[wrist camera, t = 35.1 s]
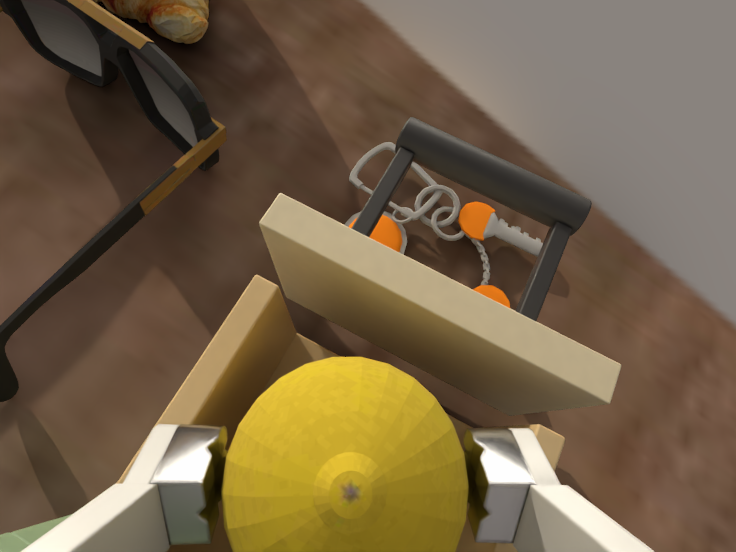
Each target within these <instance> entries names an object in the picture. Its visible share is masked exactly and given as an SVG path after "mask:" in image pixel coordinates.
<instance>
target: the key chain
mask: <svg viewBox="0 0 736 552" xmlns="http://www.w3.org/2000/svg"><path fill="white" fill-rule="evenodd" d="M395 147H396V145H395V144H393V143H392V142H385V143H382V144H380V145H378V146H377V147H375V148H373V149H372V150H370V151H369V152H368V153H366V154H365V155H364V156H363V157H362V158H361V159H360V160H359V162H358V163H357V164H356V166H355V167H354V169H353V170H352V172H351V174H350V176H349V181H350V182H351V183H352V184H353V185H355V186H356V187H357V188H358V189H362V190H364V191H365V192H367V193H369V194H370V195H372V193H373V191H372V190H370V189H369V188H367V187H365V186H363V183H362V182H361V181H360V180H359V179H358V178H357V177H358V173H359V172H360V170H361V169H362V168H363V166H364V165H365V164H366V163H367V162H368V161H369V160H370V159H371V158H372V157H373V156H375V155H376V154H378V153H379V152H381V151H383V150H391V151H392V152H394V153H395ZM395 154H396V153H395ZM410 167H411V168H412V169H413V170H414V171H415V172H416V173H417V174H418V175H419V176H420V177H421V178H422V179H423V180H424V181H425V182H426V183H427V184H428V185H429V187H427V188H424V189H423V190H422V191H421V192H420V193H419V195H418V196H417V198H416V202H415V205H414V206H415V211H416V212H413V211H412V210H411V209H409V208H406V207H402V208H401V207H399V206H398V205H396V204H394V203H392V202H391V201H390V202H389V204H388V205H389V206H390V207H392V208H393V209H395V211H394V212H393V214H392V215H391V214H390V213H388V212H385V211H384V213H383V214H382V216H381V218H380V220H379V221H378V223H377V225H376V226H375V228H374V230H373V232H372V233H371V235H370V237H369V238H371V239H373V240H375V241H377V242H379V243H381V244H383V245H385V246H387V247H389V248H391V249H393V250H395V251H397V252H399V253H401V254H403V255H404V251H405V248H406V245H407V238H406V231H405V229H404V227H403V226H402V224H403V223H407V222H409V221H410V220H417V219H420V220H421V221H422V223H424V224H426V225H428V226H430V227H433V230H434V231H435V233H436V234H437V235H438V236H439V237H441V238H443V239H445V240H451V241H456V240H458V239H460V238H463V236H464V235H465V236H466V237H467V238H470V239H471V241H472V243H473V244H474V245H476V247H477V250H478V252H479V253H480V254H481V259H482V261H483V262H484V264H483V270H485V272H484V273H483V279H484V281H482V283H481V285H480V286H478V287H477V288H475V289H473V290H474V291H476V292H478V293H480V294H482V295H484V296H486V297H488V298H490V299H492V300H494V301H496V302H498V303H500V304H502V305H504V306H506V307H508V308H510V302H509V300H508V299H507V297H506V296H505V294H504V293H503V291H501V290H499V289H498V288H496V287H494V286H493V285H488V282H487V281H488V280H489V279H490V273H489V270H490V264H489V263H488V260H489V259H488V256H487V254H486V253H485V249H484V247H483V245H481V244H480V241H483V240H484V239H485V238H488V237H492V236H495V237H497V238H499V239H501V240H503V241H505V242H508V243H510V244H512V245H514V246H516V247H518V248H520V249H522V250H524V251H526V252H528V253H530V254H533V255H535V256H537V257H538V255H539V253H540V250H541V248H542V245H543V243H541V239H539V238H536V240H534V239H532V238H530V237H528V235H529V234H528V233H526V232H524V233H523V234H522V233H520V230H521V228H519V227H514V226H512V227H511V228H509V227H507V226H508V224H507V223H505V222H504V221H505V220H503V219H500V220H499V221H498V219H497V217H496V215H495V213H494V212H495V210H494V209H493V208H491V207H490V206H489V205H487V204H485V203H481V202H472V203H468V204H466V205H465V206H464V207H463V208H462V209H461V211H460V208H461V206H460V201H459V197H458V196H457V195H456V194H455V192H454V191H453V190H452V189H450V188H448V187H446V186H444V185H438V184H437V183H436V182H435V181H434V180H433V179H432V178H431V177H430V176H429V175H428V174H427V173H426V172H425V171H424V170H423V169H422V168H421V167H420V166H419V165H418V164H417V163H415V162H412V164H411V166H410ZM433 191H434V194H433V196H432V197H431V198H430V199H429V200H428V201H427V202H426V203H425V204H424V205H423V206H422V207H421V204H422V200H423V198H424V197H425V196H426V195H427V194H428V193H431V192H433ZM443 192H444V193H446V194H448V195H449V196H450V197H451V199H452V200H453V204H454V208H453V207H441V208H439V209H436V210H435V212H434V213H433V214H432V218H431V220H430V219H428V218H426V216H425V215H424V214H425V213H426V212H427V211H428V210H430V209H431V208H432V207H433V205H434V204H435V203H436V202H437V201H438V200H439V198H440V197H441V195H442V193H443ZM445 211H447V212H452V214H451V215H450V216H449V218H448V219H445V220H443V221H436V220H437V217H438V215H439V214H440V213H442V212H445ZM398 212H400V213H401V215H402V216H404V217H406V218H408V219H406V220H402V221H400V220H398V219H397V218H395V214H396V213H398ZM360 213H361V212H359V213H357V214H354V215H353V216H352V217H351V218H350V219H349V220H348V221H347V222H346V223H345V226H347V227H349V228H352V226H353V224H354V223H355V221H356V219H357V218H358V216H359V215H360ZM457 217H459V219H458V222H459V224H460V227H461V229H462V230H461V231H460V232H459V234H456V235H454V236H450V235H446V234H444V233H442V232H441V231H440V230H439V228H443V227H445V226H447V225H450V224H452V223H453V222H454V221H455V219H456V218H457ZM479 240H480V241H479Z"/></svg>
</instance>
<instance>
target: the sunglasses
mask: <svg viewBox="0 0 736 552" xmlns="http://www.w3.org/2000/svg"><path fill="white" fill-rule="evenodd" d="M2 11H4V12H5V13H6V14H8V15H9V16H10V17H12V19H13V20H14V22H15V23H16V25H17V26H18V28H19V29H20V31H21V32H22V34H23V35H24V37H25V38H26V40H27V41H28V43H29V44H30V45H31V46H32V47H33V49H34V50H35V51H36V52H37V53H39V54H40V55H41V56H43V57H44V58H45V59H47V60H48V61H50V62H51V63H53V64H55V65H57V66H59V67H60V68H62V69H64V70H66V71H68V72H70V73H71V74H73V75H75V76H77V77H79V78H81V79H84V80H86V81H88V82H90V83H92V84H94V85H96V86H101V87H103V86H105V85H107V84H109V83H111V82H113V81H115V80H116V79H117V76H118V69H120V71H121V73H122V74H123V76H124V78H125V80H126V82H127V83H128V85H129V87H130V89H131V91H132V92H133V94H134V96H135V98H136V99H137V101H138V103H139V105H140V106H141V108H142V110H143V111H144V113H145V115H146V116H147V118H148V119H149V120H150V122H151V123H152V124H153V125H154V126H155V127H156V128H157V129H158V130H160V131H161V132H162V133H163V134H164V135H165V136H166V137H167V138H169V139H170V140H171V141H172V142H173V143H174V144H175V145H176V146H177V147H178V148H179V149H180V150H181V151H182V152H183V153H184V154H185V155H184V156H183V157H181V158H180V159H179V160H178V161H177V162H176V163H175V164H173V165H172V166H171V167H170V168H169V169H168V170H167V171H166V172H164V173H163V174H162V175H161V176H160V177H159V178H158V179H157V180H155V181H154V182H153V183H152V184H151V185H150V186H149V187H148V188H146V189H145V190H144V191H143V192H142V193H141V194H140V195H139V196H137V197H136V198H135V200H133V201H132V202H131V203H130V204H129V205H128V206H127V207H126V208H125V209H124V210H123V211H122V212H120V213H119V214H118V215H117V216H116V217H115V218H114V219H113V220H112V221H111V222H110V223H109V224H107V225H106V226H105V227H104V228H103V229H102V230H101V231H100V232H99V233H98V234H97V235H96V236H94V237H93V238H92V239H91V240H90V241H89V242H88V243H87V244H86V245H85V246H84V247H83V248H81V249H80V250H79V251H78V252H77V253H76V254H75V255H74V256H73V257H72V258H71V259H70V260H69V261H67V262H66V263H65V264H64V265H63V266H62V267H61V268H60V269H59V270H58V271H57V272H56V273H55V274H54V275H53V276H52V277H51V278H49V279H48V280H47V281H46V282H45V283H44V284H43V285H42V286H41V287H40V288H39V289H38V290H37V291H35V292H34V293H33V294H32V295H31V296H30V297H29V298H28V299H27V300H26V301H25V302H24V303H23V304H22V305H21V306H20V307H19V308H18V309H17V310H16V311H15V312H14V313H13V314H12V315H11V316H10V317H9V318H8V319H7V320H6V321H4V322H3V323H2V324H1V325H0V402H3V401H7V400H9V399H11V398H12V397H13V396H14V395H15V394H16V393H17V391H18V388H19V386H18V381H17V378H16V375H15V373H14V371H13V369H12V367H11V365H10V363H9V360H8V358H7V356H6V353H5V345H6V343H7V341H8V339H9V338H10V336H11V335H12V334H13V333H14V332H15V331H16V330H17V329H18V328H19V327H20V326H21V325H22V324H23V323H24V322H25V321H26V320H27V319H28V318H29V317H30V316H31V315H32V314H33V313H34V312H35V311H36V310H37V309H38V308H39V307H41V306H42V305H43V304H44V303H45V302H46V301H48V300H49V299H50V298H51V297H52V296H53V295H55V294H56V293H57V292H58V291H60V290H61V289H62V288H64V287H65V286H66V285H67V284H69V283H70V282H71V281H73V280H74V279H75V278H76V277H78V276H79V275H80V274H81V273H83V272H84V271H85V270H86V269H87V268H88V267H89V266H90V265H92V264H93V263H94V262H95V261H96V260H97V259H98V258H99V257H100V256H101V255H102V254H103V253H105V252H106V251H107V250H108V249H109V248H110V247H111V246H112V245H113V244H114V243H115V242H117V241H118V240H119V239H120V238H121V237H122V236H123V235H124V234H125V233H126V232H127V231H129V230H130V229H131V228H132V227H133V226H134V225H135V224H136V223H137V222H138V221H139V220H141V219H142V218H143V217H144V216H145V215H147V214H148V213H149V212H150V211H151V210H152V209H154V208H155V207H156V206H157V205H158V204H159V203H160V202H161V201H162V200H163V199H164V198H165V197H167V196H168V195H169V194H170V193H171V192H172V191H173V190H174V189H175V188H176V187H177V186H178V185H180V184H181V183H182V182H183V181H184V180H185V179H186V178H187V177H188V176H189V175H190V174H191V173H192V172H193V171H194V170H195V169H196V168H197V167H199V168H200V169H202V170H204V171H206V170H207V169H209V168H210V167H212V166H213V165H214V164H216V163H217V162H218V161H219V151H218V148H219V147H220V146H221V145H222V144H223V143H224V142H225V141H226V127H225V126H223V125H222V124H220V123H219V122H217V121H216V120H214V119H213V118H212V117H211V116H210V114H209V111H208V108H207V105H206V102H205V101H204V99H203V97H202V96H201V94H200V92H199V90H198V89H197V88H196V86H195V85H194V83H193V82H192V81H191V80H190V79H189V78H188V77H187V76H186V75H185V74H184V72H183V71H182V70H181V69H180V68H179V67H178V66H177V65H176V64H175V62H174V61H173V60H172V59H171V58H169V57H168V56H167V55H166V54H165V53H164V52H163V51H162V50H161V49H160V48H158V47H157V46H156V45H155V44H154V42H153V41H152V40H150V39H149V38H147V37H146V36H144V35H143V34H141V33H140V32H138V31H137V30H135V29H134V28H132V27H131V26H129V25H128V24H126V23H125V22H123V21H121V20H120V19H118V18H117V17H115V16H114V15H112V14H111V13H109V12H108V11H106V10H105V9H103V8H102V7H101V6H99V5H98V4H96V3H95V2H93V1H92V0H0V12H2Z"/></svg>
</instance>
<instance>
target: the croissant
mask: <svg viewBox="0 0 736 552" xmlns="http://www.w3.org/2000/svg"><path fill="white" fill-rule="evenodd" d="M94 1H95V2H103V4H104V5H105V7H106V8H107V10H109V11H111V12H113V13H115V14H117V15H119V16H121V17H123V18H130V19H137V20H138V21H139V22H140V23H148V24H149V26H150V27H151V28H153V29H154V31H155V32H156V33H157V34H159V35H161V36H163V37H166V38H168V39H170V40H172V41H175V42H178V43H182V42H184V43H185V44H190V43H194V42H197V41H198V40H200V39H201V38H202V37H203V35H204V34H205V32H206V30H207V28H208V24H209V23H208V22H207V20H208V16H209V9H208V4H209V0H94Z"/></svg>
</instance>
